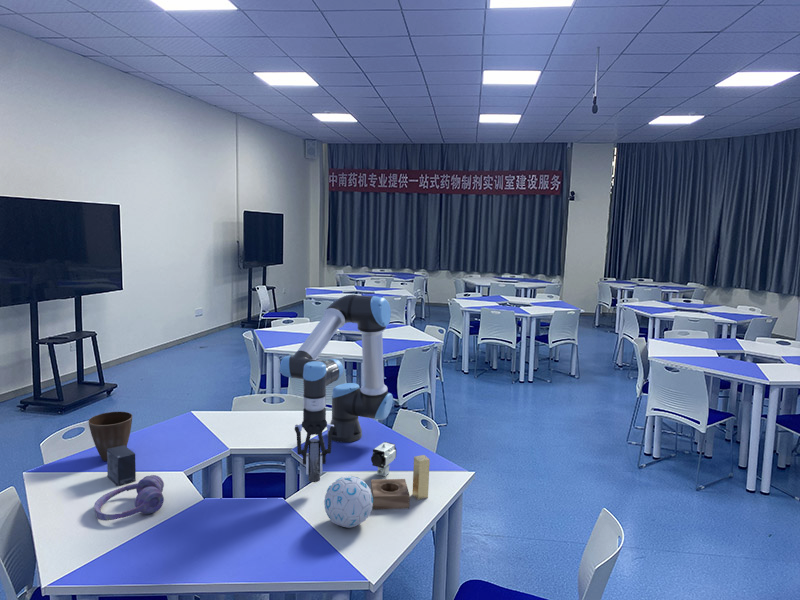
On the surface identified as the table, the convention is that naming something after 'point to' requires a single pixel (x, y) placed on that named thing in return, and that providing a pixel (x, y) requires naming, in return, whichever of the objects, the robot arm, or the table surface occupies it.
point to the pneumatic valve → (383, 457)
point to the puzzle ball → (348, 501)
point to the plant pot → (110, 431)
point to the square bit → (421, 477)
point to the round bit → (314, 460)
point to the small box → (121, 465)
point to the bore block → (390, 494)
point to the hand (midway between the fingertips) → (314, 472)
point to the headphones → (145, 501)
